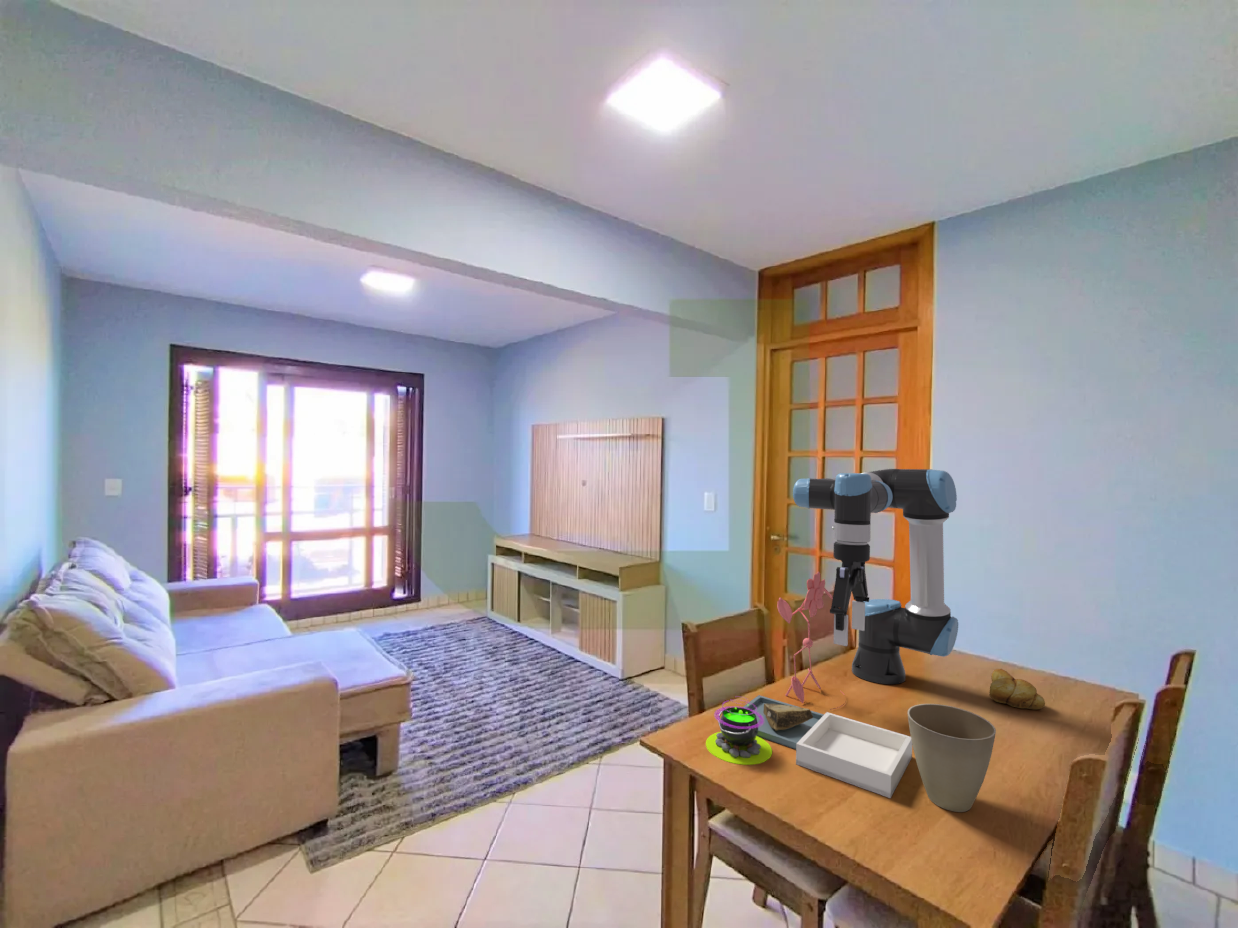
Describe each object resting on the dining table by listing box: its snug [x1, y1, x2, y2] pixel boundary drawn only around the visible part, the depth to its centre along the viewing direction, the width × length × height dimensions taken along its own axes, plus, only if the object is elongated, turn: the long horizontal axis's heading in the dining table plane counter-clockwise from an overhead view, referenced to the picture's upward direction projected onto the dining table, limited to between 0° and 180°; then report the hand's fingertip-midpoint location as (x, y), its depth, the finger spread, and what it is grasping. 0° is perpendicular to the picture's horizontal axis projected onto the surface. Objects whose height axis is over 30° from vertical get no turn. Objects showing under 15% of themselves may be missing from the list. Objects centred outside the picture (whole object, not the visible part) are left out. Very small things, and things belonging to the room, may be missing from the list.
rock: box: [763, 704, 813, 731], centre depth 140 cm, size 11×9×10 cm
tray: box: [741, 694, 825, 751], centre depth 141 cm, size 19×19×2 cm
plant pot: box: [907, 703, 997, 813], centre depth 110 cm, size 15×15×16 cm
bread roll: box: [988, 668, 1046, 710], centre depth 155 cm, size 13×10×8 cm
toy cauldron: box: [705, 695, 773, 766], centre depth 129 cm, size 15×15×11 cm
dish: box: [795, 711, 913, 799], centre depth 124 cm, size 20×19×4 cm
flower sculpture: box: [776, 571, 846, 711], centre depth 156 cm, size 15×26×35 cm, turn 135°
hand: (849, 636), depth 126 cm, fingers open, 13 cm apart
